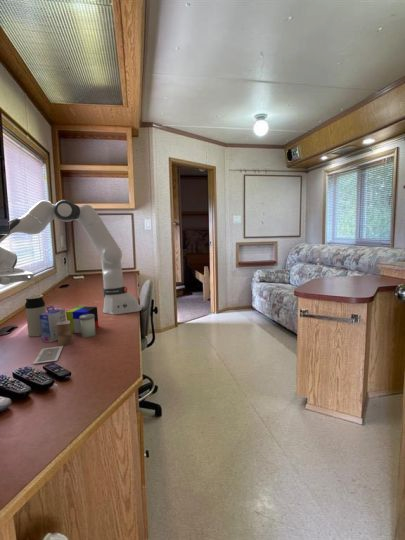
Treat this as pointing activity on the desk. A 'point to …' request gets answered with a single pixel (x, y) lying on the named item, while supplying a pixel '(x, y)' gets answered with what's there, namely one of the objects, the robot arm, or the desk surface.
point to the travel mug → (34, 314)
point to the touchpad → (48, 354)
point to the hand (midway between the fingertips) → (20, 280)
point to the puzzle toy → (76, 313)
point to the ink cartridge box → (51, 323)
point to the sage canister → (87, 325)
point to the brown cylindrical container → (64, 333)
